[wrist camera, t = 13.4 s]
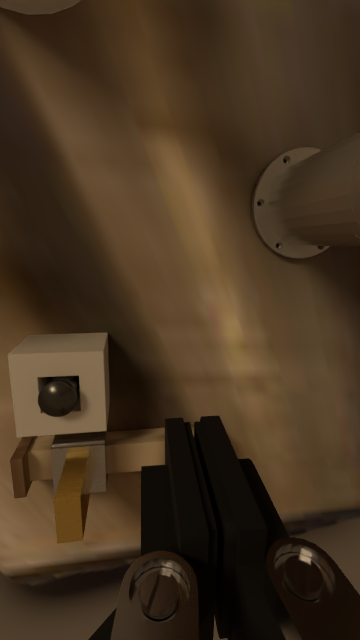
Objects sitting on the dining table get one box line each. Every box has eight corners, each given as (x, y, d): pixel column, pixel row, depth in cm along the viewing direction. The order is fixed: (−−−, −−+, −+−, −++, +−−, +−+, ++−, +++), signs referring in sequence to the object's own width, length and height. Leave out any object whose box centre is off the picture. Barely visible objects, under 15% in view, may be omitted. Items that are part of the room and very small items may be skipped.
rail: (212, 420, 44) (222, 442, 39) (210, 452, 45) (220, 477, 40) (24, 434, 40) (10, 460, 35) (27, 468, 41) (14, 498, 36)
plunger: (84, 358, 38) (75, 382, 31) (85, 386, 38) (77, 415, 32) (52, 359, 37) (36, 384, 31) (54, 388, 38) (39, 418, 31)
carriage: (106, 426, 41) (99, 487, 30) (108, 472, 42) (102, 545, 32) (56, 429, 40) (32, 494, 29) (60, 476, 41) (38, 553, 31)
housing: (107, 332, 39) (103, 351, 32) (110, 403, 41) (106, 434, 34) (29, 334, 37) (7, 354, 31) (36, 407, 40) (17, 440, 33)
